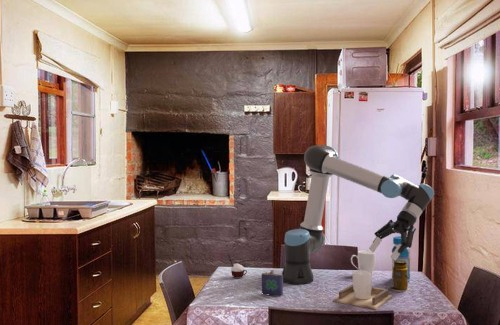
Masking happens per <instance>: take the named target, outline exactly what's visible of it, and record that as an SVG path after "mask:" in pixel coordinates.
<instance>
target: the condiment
mask: <svg viewBox="0 0 500 325" xmlns="http://www.w3.org/2000/svg"><path fill="white" fill-rule="evenodd" d="M406 264H407V263H406V262H405V261H401V260H397V261H394V267H393V279H392V281H393V282H392V284H393V285H392V286H388V287H386V289H387V290H392V291H395V292H398V293H401V292H405V291H409V290H412V288H411V287H408V284H409V283H408V282H409V281H408V275H407V274H408V270H407V265H406Z"/></svg>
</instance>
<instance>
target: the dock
mask: <svg viewBox="0 0 500 325" xmlns="http://www.w3.org/2000/svg"><path fill="white" fill-rule="evenodd" d="M392 298H393V295H391V294H389V289H387V288H386V289H385V288H380V287H379V288H378V287H373V286H372V288H371V298H369V299H358V298H355V297H354V289H353V283H352V284H351V285H349V286H347V287H346V288H343V289H341V290H340V291H338V296H336V297H334V298H333V299H332V300H333V302H336V303H342V304H345V305H350V306H351V305H352V306H356V307H361V308H362V307H363V308H365V309H366V308H368V309H371V310H377V309H379V308H380V307H382V306H383V305H384V304H386V303H387V302H389V301H390V300H391V299H392Z"/></svg>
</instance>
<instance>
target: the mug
mask: <svg viewBox="0 0 500 325" xmlns="http://www.w3.org/2000/svg"><path fill="white" fill-rule="evenodd" d="M354 257H356V259H357V263H358V267H359V268H358V267H357V266H356V265H355V263H354V262H353V258H354ZM350 262H351V264H352V266H353V267H355V268H356V269H357V270H364V271H369V272H372V273H373V272H374V269H375V265H376V251H374V253H373V252H372V251H371V250H370V249H368V250H367V249H362V250H358V251H357V255H356V254H352V255H351V257H350Z"/></svg>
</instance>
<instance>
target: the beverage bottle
mask: <svg viewBox="0 0 500 325" xmlns="http://www.w3.org/2000/svg"><path fill="white" fill-rule="evenodd" d="M392 239H393V240H392V241H393V242H392V244H393V247H392V248H391V255H392V254H393V252H394V251H395V249H396V248H397V246H398V245H399V244H401V235H400V236H399V235H398V236H394V237H392ZM401 245H402V244H401ZM410 255H411V251H410V248H409V247H407V248H405V249H404V251H403V252H402V253H401V254H400V255H399V257H398V258H397V259H396V261H397V260H401V261H405V262H406V263H407V264H406V265H407V270H408V274H407V275H408V282H410V280H411V272H410V270H411V268H410V265H411V262H410V261H411V256H410ZM390 258H391V268H392V269H391V270H392V271H391V280H393V267H394V261H395V260H394V259H393V258H392V257H391V256H390Z"/></svg>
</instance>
